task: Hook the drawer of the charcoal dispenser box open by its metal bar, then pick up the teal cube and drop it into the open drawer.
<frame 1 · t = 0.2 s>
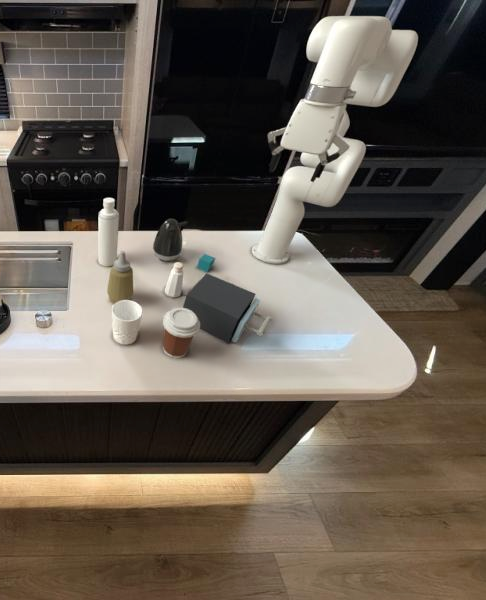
hand: (292, 175, 79), 37 cm above the countertop, tool pointing down, fingers open, 9 cm apart
squeeze bottle: (119, 300, 99), on the countertop
teal cube: (204, 267, 111), on the countertop
coffee cup: (174, 348, 85), on the countertop
pepper shaker: (172, 292, 102), on the countertop
drawer: (232, 314, 87), point 5 cm above the countertop, slide at 0.5 cm
white bottle: (107, 261, 115), on the countertop
dispenser: (212, 318, 93), on the countertop
white cup: (124, 336, 88), on the countertop
pump dispenser: (165, 257, 116), on the countertop
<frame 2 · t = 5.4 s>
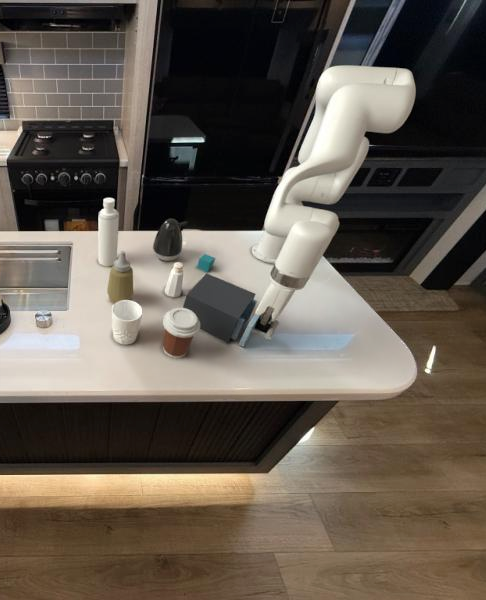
hand: (261, 329, 84), 4 cm above the countertop, tool pointing down, fingers closed
drawer: (239, 317, 86), point 5 cm above the countertop, slide at 2.5 cm, touching gripper
everything else where it was.
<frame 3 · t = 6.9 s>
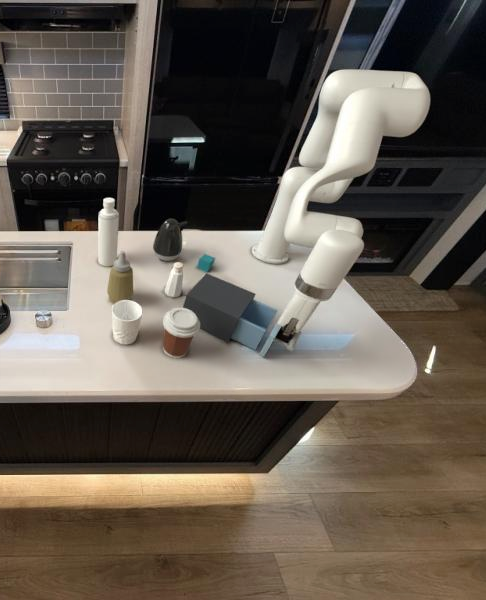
hand: (282, 339, 81), 4 cm above the countertop, tool pointing down, fingers closed
drawer: (259, 326, 84), point 5 cm above the countertop, slide at 7.9 cm
everything else where it was.
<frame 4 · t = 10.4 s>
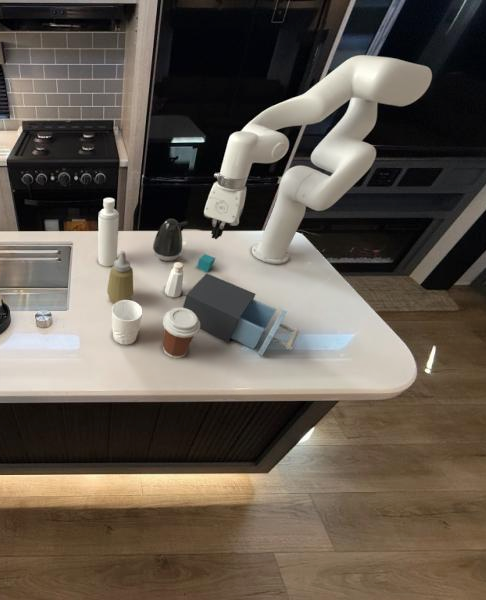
hand: (215, 236, 102), 13 cm above the countertop, tool pointing down, fingers closed
drawer: (257, 325, 84), point 5 cm above the countertop, slide at 7.5 cm
everything else where it was.
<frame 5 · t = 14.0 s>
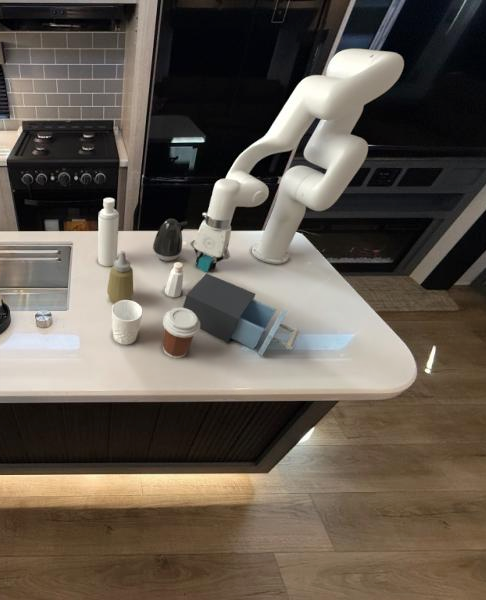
hand: (204, 266, 111), 0 cm above the countertop, tool pointing down, fingers closed on teal cube, 4 cm apart
teal cube: (204, 267, 111), on the countertop, touching gripper
everything else where it was.
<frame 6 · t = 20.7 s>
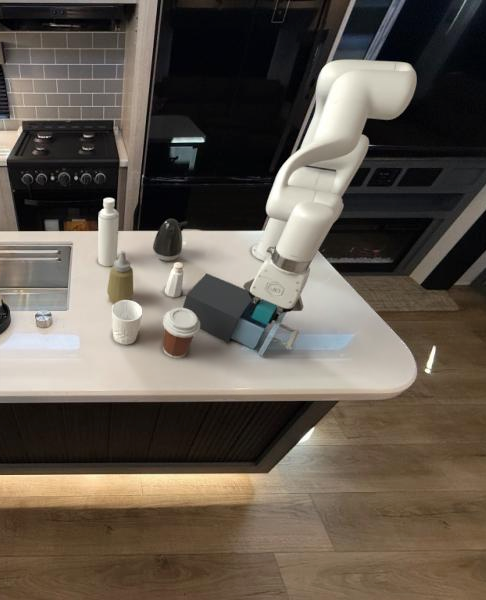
hand: (262, 316, 82), 8 cm above the countertop, tool pointing down, fingers closed on teal cube, 4 cm apart
teal cube: (261, 317, 82), point 8 cm above the countertop, touching gripper
everything else where it was.
when the fingers open (10 cm above the countertop, at t = 26.9 s): teal cube drops 7 cm, resting on drawer.
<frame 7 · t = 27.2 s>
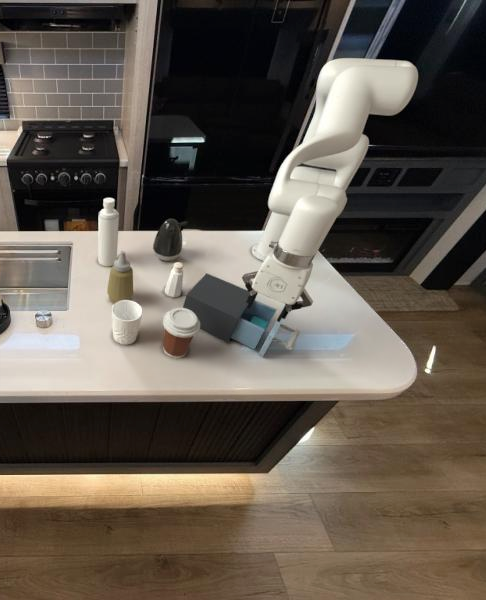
hand: (264, 311, 81), 10 cm above the countertop, tool pointing down, fingers open, 6 cm apart
teal cube: (253, 333, 86), point 2 cm above the countertop, touching drawer
drawer: (258, 326, 84), point 5 cm above the countertop, slide at 7.6 cm, touching teal cube
everything else where it was.
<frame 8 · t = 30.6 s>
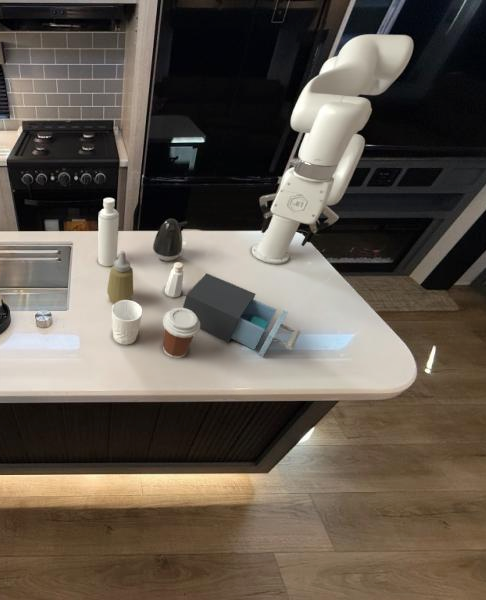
hand: (283, 237, 80), 24 cm above the countertop, tool pointing down, fingers open, 9 cm apart
nothing on the countertop moved.
at the end: drawer slide at 7.6 cm; teal cube inside the target area in the drawer (0.5 cm from its centre), point 2.0 cm above the dispenser's base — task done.
